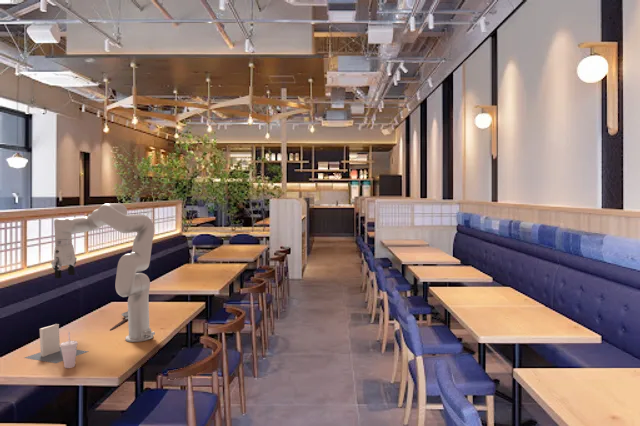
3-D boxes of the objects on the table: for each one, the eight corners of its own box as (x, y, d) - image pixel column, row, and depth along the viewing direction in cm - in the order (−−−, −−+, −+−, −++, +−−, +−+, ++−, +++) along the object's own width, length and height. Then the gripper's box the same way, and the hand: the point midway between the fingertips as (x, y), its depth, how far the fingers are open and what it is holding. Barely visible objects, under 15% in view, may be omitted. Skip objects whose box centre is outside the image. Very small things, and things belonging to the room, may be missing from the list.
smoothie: (81, 363, 199) (80, 330, 199) (74, 369, 193) (72, 334, 192) (65, 364, 199) (64, 330, 199) (57, 369, 193) (56, 335, 192)
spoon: (145, 313, 282) (144, 308, 282) (121, 332, 249) (120, 326, 249) (127, 315, 282) (126, 310, 282) (100, 334, 249) (99, 328, 249)
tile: (59, 350, 216) (58, 324, 215) (43, 356, 208) (42, 329, 208) (57, 350, 216) (56, 324, 216) (40, 356, 209) (39, 328, 209)
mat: (88, 352, 214) (88, 351, 214) (56, 364, 199) (56, 363, 199) (57, 347, 222) (57, 346, 222) (23, 358, 207) (23, 357, 207)
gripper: (58, 244, 234) (59, 279, 235) (81, 241, 251) (82, 273, 252) (44, 244, 235) (46, 279, 236) (68, 241, 252) (69, 273, 253)
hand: (65, 276), depth 244 cm, fingers open, 9 cm apart
